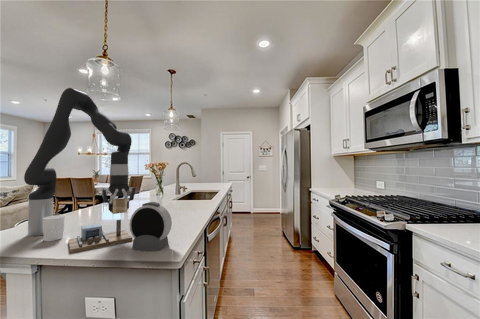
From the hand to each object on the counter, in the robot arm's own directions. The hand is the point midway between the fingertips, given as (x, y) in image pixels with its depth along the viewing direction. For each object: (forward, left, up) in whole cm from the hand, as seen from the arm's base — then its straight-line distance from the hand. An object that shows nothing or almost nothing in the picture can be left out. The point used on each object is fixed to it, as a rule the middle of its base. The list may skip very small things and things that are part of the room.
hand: (118, 210), depth 103 cm
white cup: (-19, -23, -13) cm, 33 cm away
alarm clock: (+20, +8, -13) cm, 25 cm away
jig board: (0, -7, -13) cm, 15 cm away
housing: (-4, -10, -11) cm, 16 cm away
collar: (0, 0, -1) cm, 1 cm away
